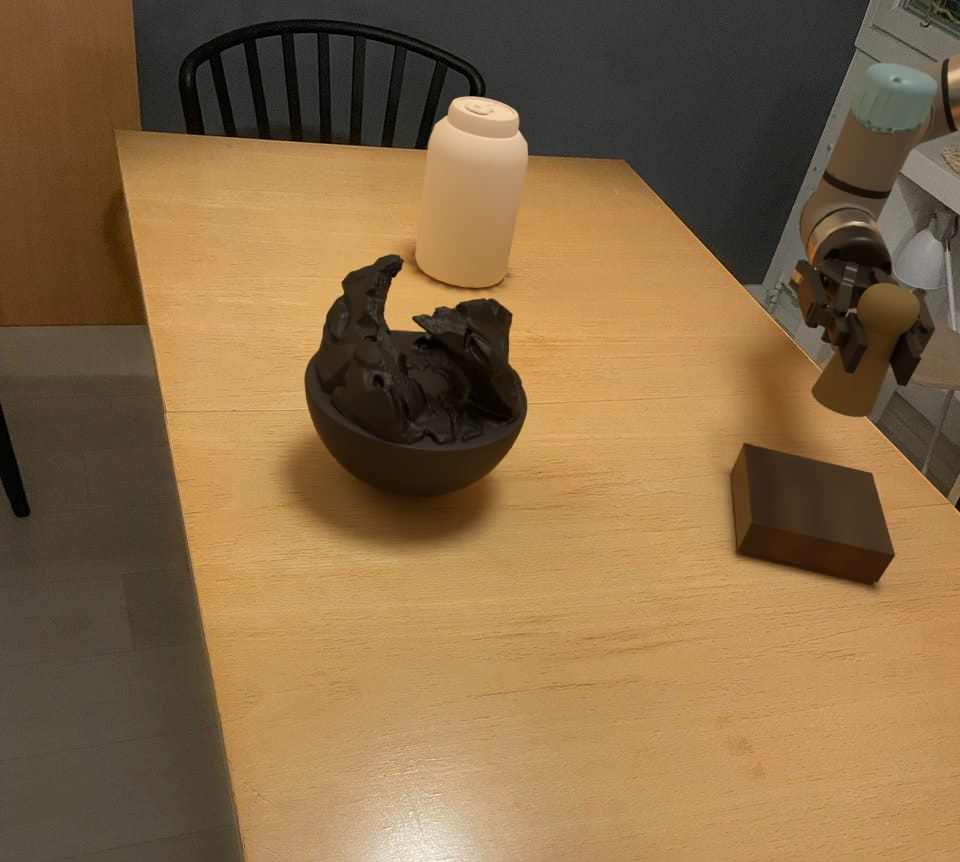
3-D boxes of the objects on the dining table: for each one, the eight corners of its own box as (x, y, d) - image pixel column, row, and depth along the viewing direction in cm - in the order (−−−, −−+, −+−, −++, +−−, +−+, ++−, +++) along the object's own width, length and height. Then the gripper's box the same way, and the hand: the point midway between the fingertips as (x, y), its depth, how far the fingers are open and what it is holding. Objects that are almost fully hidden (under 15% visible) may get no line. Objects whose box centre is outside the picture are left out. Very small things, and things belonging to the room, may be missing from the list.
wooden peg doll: (799, 384, 88) (850, 274, 80) (846, 381, 90) (900, 273, 83) (837, 419, 85) (894, 307, 77) (885, 414, 87) (945, 305, 79)
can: (454, 297, 116) (480, 127, 102) (395, 255, 122) (412, 89, 108) (524, 281, 123) (557, 120, 109) (465, 242, 129) (490, 85, 115)
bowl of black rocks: (523, 548, 83) (572, 362, 70) (301, 539, 79) (309, 340, 66) (491, 425, 97) (526, 250, 84) (300, 412, 92) (306, 226, 79)
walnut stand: (855, 502, 98) (872, 472, 95) (875, 586, 88) (895, 555, 86) (729, 473, 98) (743, 442, 95) (736, 553, 88) (751, 521, 85)
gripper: (908, 313, 98) (954, 424, 82) (755, 276, 98) (770, 381, 82) (945, 244, 93) (1002, 348, 77) (783, 205, 93) (805, 301, 76)
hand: (882, 365), depth 79 cm, fingers closed on wooden peg doll, 4 cm apart
